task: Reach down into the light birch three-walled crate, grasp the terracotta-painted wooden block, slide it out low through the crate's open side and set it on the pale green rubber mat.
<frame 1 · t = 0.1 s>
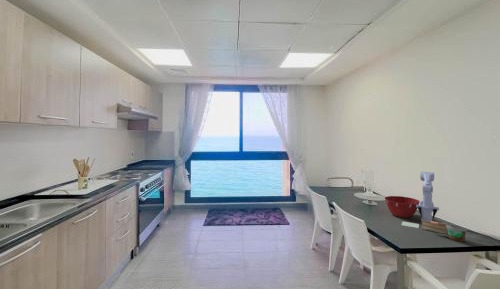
hand: (427, 217, 194), 10 cm above the table, fingers open, 7 cm apart
mat: (410, 225, 207), on the table
food container: (454, 240, 176), on the table
block: (434, 229, 198), resting in crate
mixing bowl: (401, 215, 234), on the table
crate: (435, 229, 197), on the table
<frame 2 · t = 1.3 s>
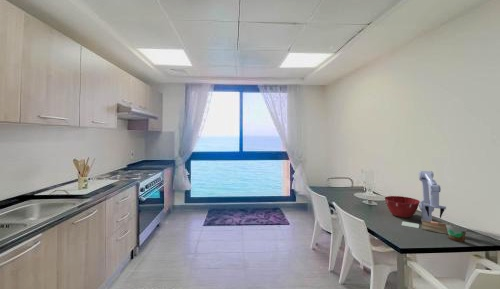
hand: (434, 216, 198), 10 cm above the table, fingers open, 7 cm apart
nothing on the table moved.
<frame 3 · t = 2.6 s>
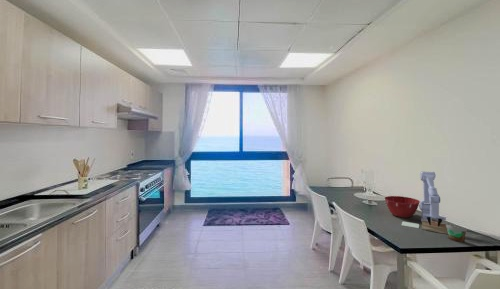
hand: (434, 227, 198), 1 cm above the table, fingers closed on block, 4 cm apart
block: (434, 229, 198), resting in crate, touching gripper
everything else where it was.
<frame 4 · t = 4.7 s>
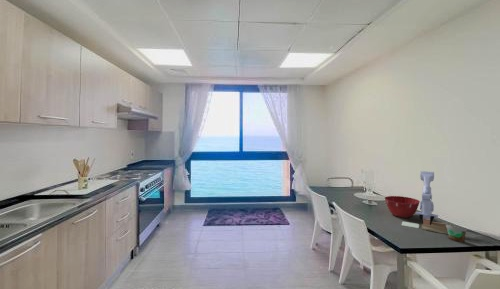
hand: (426, 224, 201), 2 cm above the table, fingers closed on block, 4 cm apart
block: (426, 226, 201), point 1 cm above the table, touching gripper
everything else where it was.
when the fingers open (2 cm above the table, at t = 7.1 s): block stays where it is, resting on mat.
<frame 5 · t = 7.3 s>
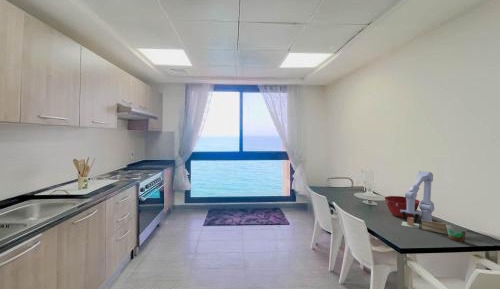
hand: (410, 222, 207), 2 cm above the table, fingers open, 6 cm apart
block: (410, 224, 207), resting on mat
everything else where it was.
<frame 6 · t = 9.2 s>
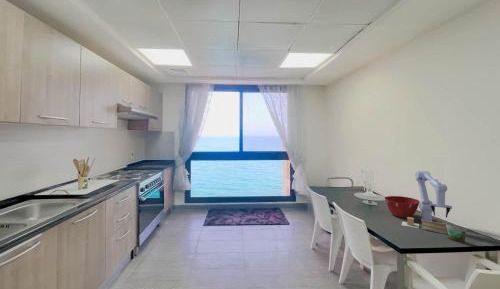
hand: (440, 216, 199), 10 cm above the table, fingers open, 7 cm apart
nothing on the table moved.
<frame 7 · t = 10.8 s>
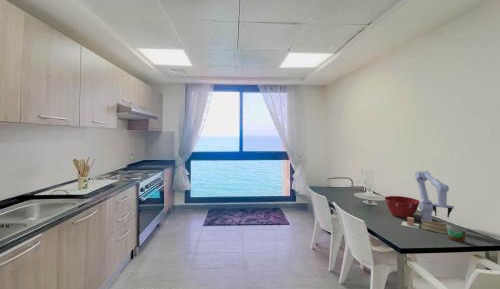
hand: (441, 216, 199), 10 cm above the table, fingers open, 7 cm apart
nothing on the table moved.
at the end: block inside the target area (0.0 cm from its centre), resting on mat; block touching mat; the gripper is holding nothing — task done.
